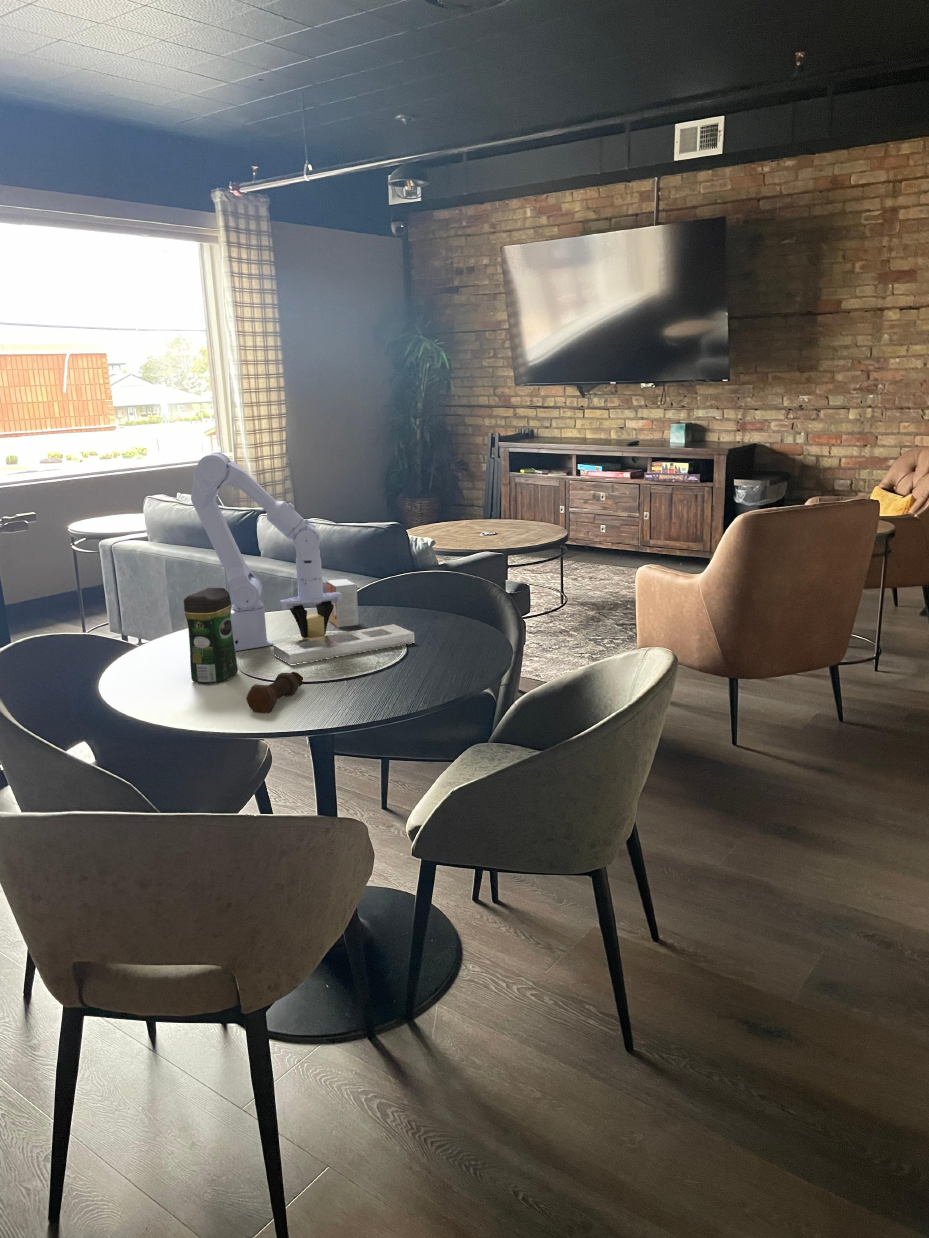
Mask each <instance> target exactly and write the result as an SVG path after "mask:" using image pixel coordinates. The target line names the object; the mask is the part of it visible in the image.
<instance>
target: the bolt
mask: <svg viewBox="0 0 929 1238" xmlns="http://www.w3.org/2000/svg"><path fill="white" fill-rule="evenodd" d="M303 683H304V677H303V675H301V674H300V673H299V672H296V671H292V672H280V673H279V674H277V676H276V677H275V679H274V681H273V682H272V683H269V684H253V685H252V686H251V687H250V689H249V690H248V693H247V694H246V699H245V700H246V703H247V705H248V707H249V709H250V710H251V711H252V712H253V713H256V714H269V713H271V712H272V711H273V710H274V708H275V705H276V704H277V702H278V700H280V699H281V698H283V697H288V696H289V697H293V696H294V695H296V693H297V692H298V690H299V688H300V687H301V686H302V685H303Z"/></svg>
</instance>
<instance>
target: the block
mask: <svg viewBox="0 0 929 1238" xmlns="http://www.w3.org/2000/svg"><path fill="white" fill-rule="evenodd" d="M306 625H307V638H303V637H302V636H301V637H302V638H301V640H304V639H309V638H315V637H321V636H326V634H325V630H324V617H323V616H321V615H319V614H318V613H317V612H316V613H311V614H307V621H306Z"/></svg>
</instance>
